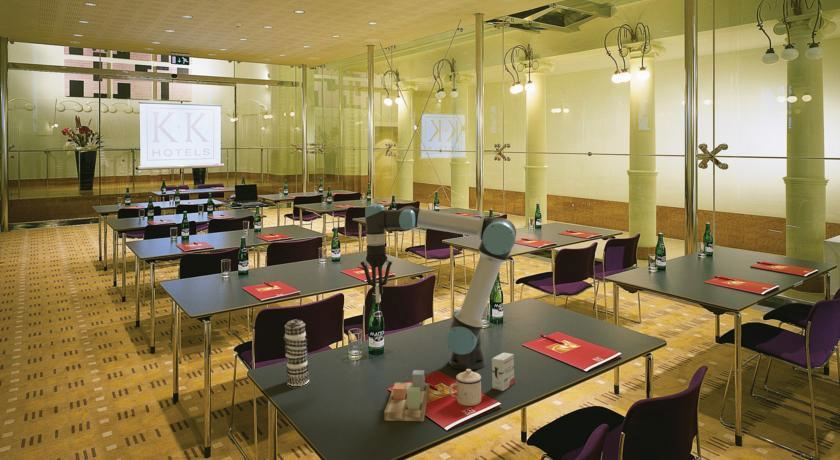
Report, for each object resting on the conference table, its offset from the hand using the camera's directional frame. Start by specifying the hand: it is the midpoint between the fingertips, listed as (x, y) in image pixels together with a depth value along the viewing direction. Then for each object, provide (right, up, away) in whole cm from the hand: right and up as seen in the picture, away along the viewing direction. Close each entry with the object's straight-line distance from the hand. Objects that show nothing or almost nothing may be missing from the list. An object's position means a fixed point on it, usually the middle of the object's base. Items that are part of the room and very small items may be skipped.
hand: (378, 301), depth 225 cm
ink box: (+48, -30, -13) cm, 58 cm away
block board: (+13, -33, -27) cm, 44 cm away
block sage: (+15, -31, -35) cm, 49 cm away
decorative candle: (-31, -31, -4) cm, 45 cm away
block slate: (+16, -29, -20) cm, 39 cm away
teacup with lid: (+33, -32, -25) cm, 53 cm away
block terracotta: (+10, -33, -26) cm, 43 cm away
